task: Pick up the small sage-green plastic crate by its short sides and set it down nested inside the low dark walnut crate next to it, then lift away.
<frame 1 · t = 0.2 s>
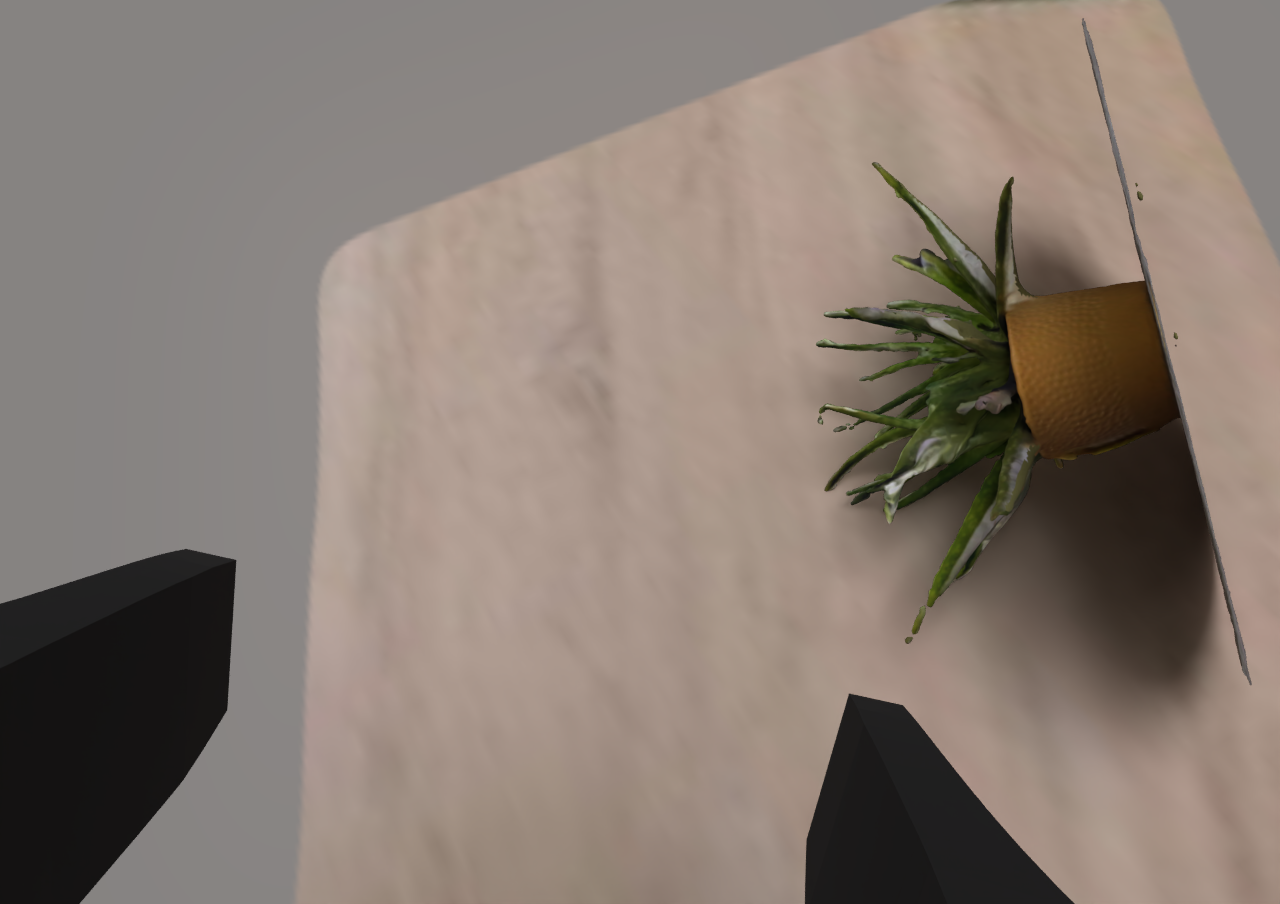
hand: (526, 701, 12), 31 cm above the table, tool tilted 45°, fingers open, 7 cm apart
disc: (996, 467, 50), on the table
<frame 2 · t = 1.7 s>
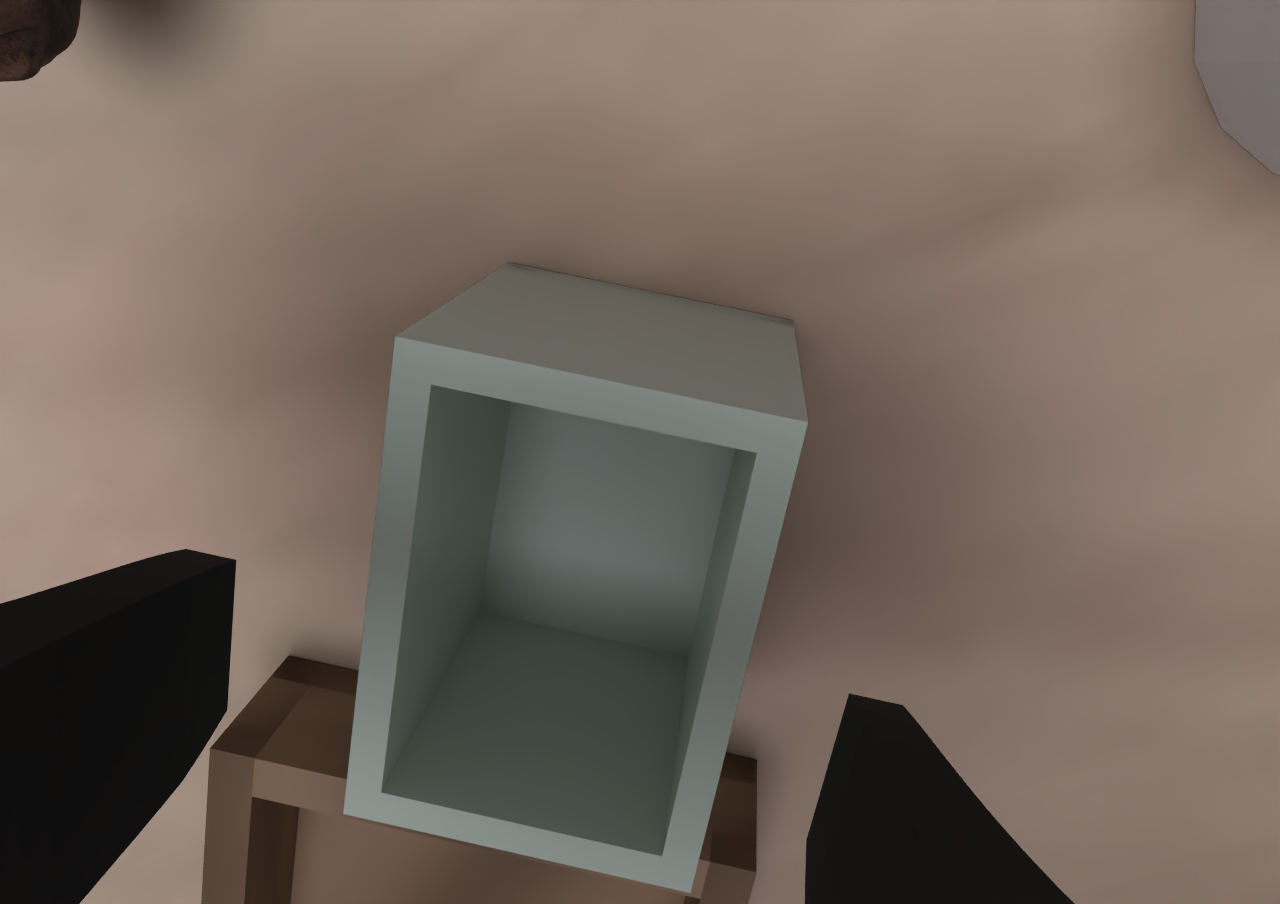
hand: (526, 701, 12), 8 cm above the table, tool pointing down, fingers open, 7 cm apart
green crate: (614, 478, 19), on the table
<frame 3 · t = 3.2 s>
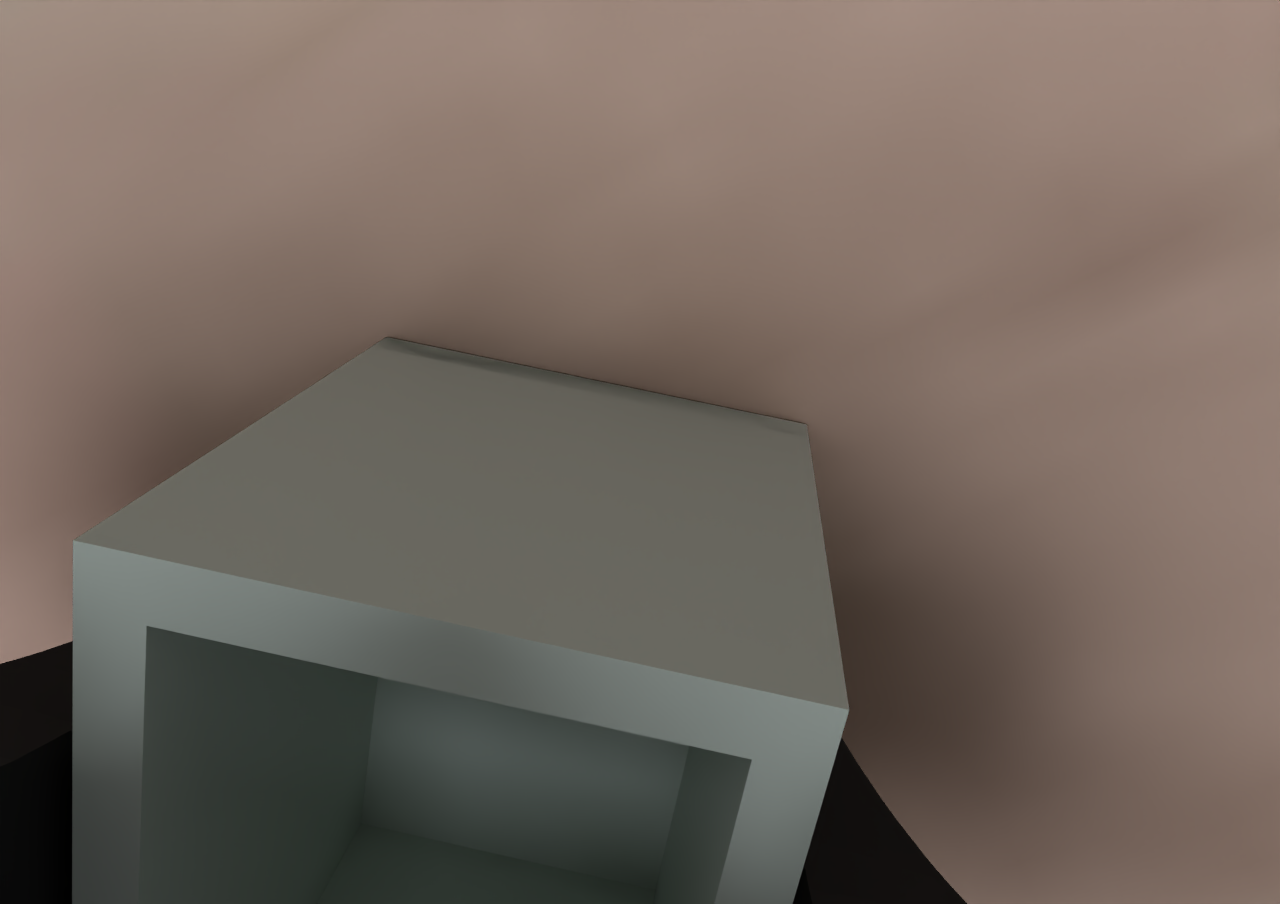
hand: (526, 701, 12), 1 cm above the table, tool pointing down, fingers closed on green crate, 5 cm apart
green crate: (548, 641, 13), on the table, touching gripper
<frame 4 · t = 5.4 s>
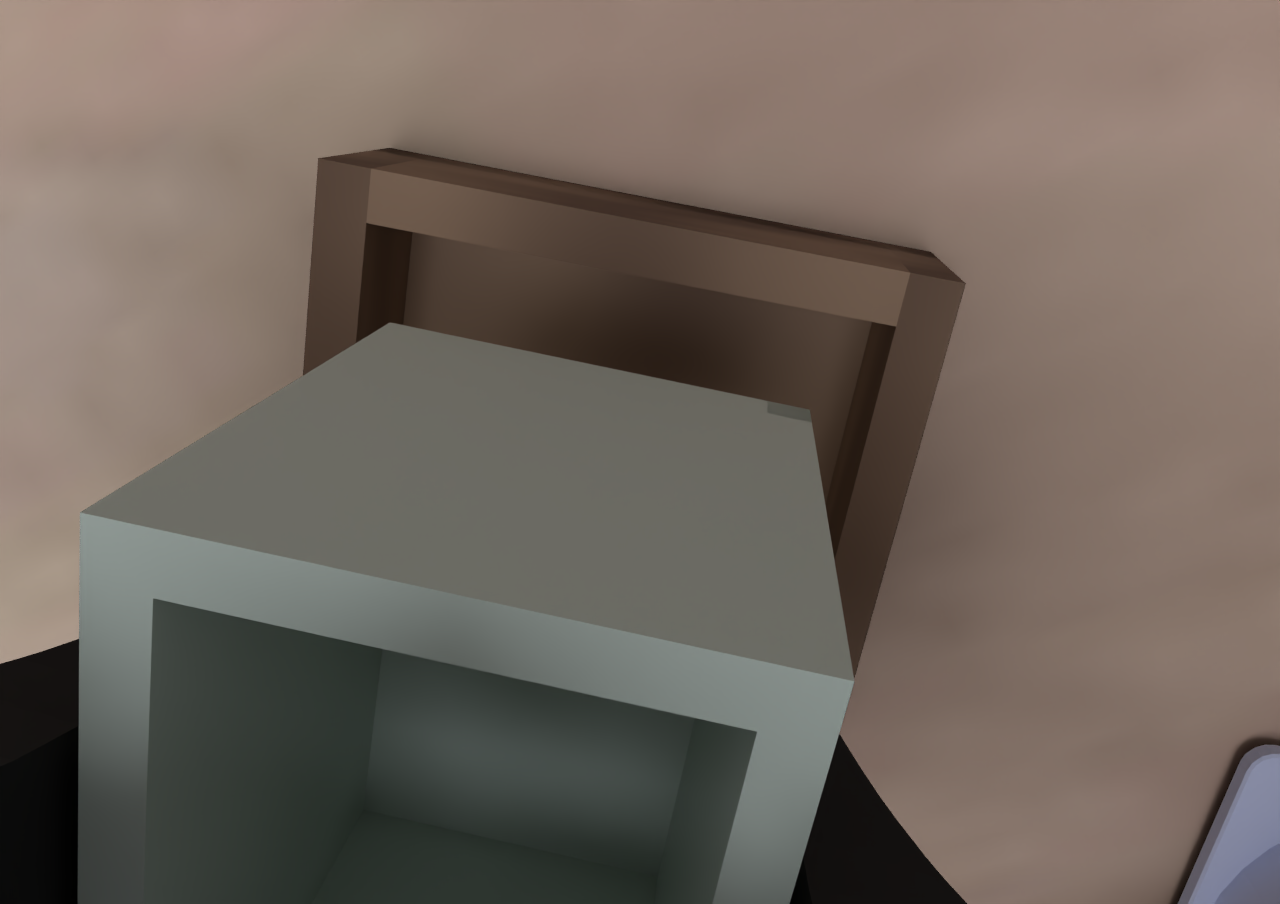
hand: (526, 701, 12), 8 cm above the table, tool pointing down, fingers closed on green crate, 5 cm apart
walnut crate: (603, 503, 20), on the table
green crate: (551, 627, 13), point 7 cm above the table, touching gripper
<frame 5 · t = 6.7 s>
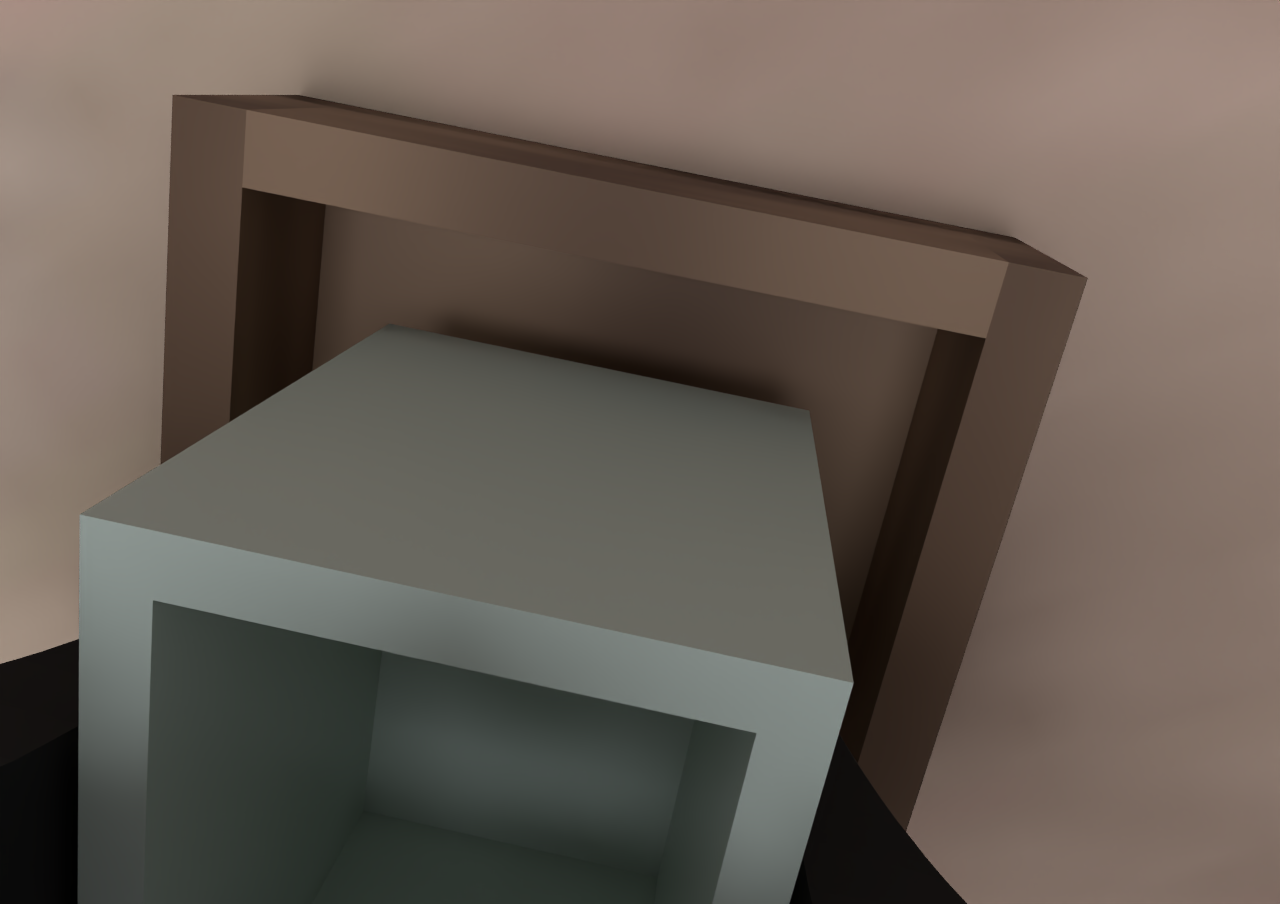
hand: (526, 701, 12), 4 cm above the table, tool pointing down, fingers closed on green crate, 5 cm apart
walnut crate: (579, 559, 16), on the table
green crate: (551, 628, 13), point 2 cm above the table, touching gripper
when the fingers open (4 cm above the table, at t = 7.8 s): green crate drops 2 cm, resting on walnut crate.
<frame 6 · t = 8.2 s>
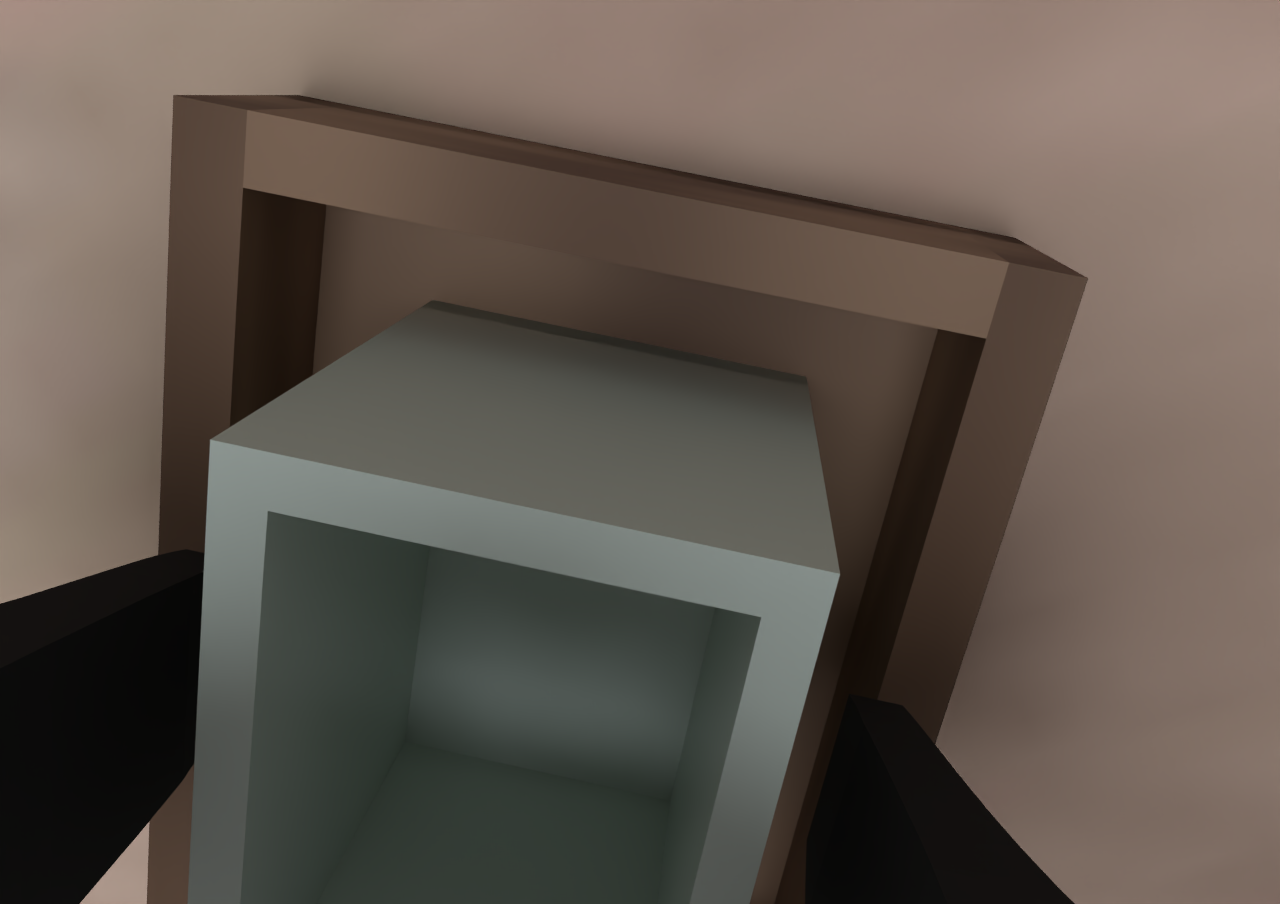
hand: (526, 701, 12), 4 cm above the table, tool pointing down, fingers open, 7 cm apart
walnut crate: (580, 559, 16), on the table
green crate: (575, 575, 15), point 1 cm above the table, touching walnut crate
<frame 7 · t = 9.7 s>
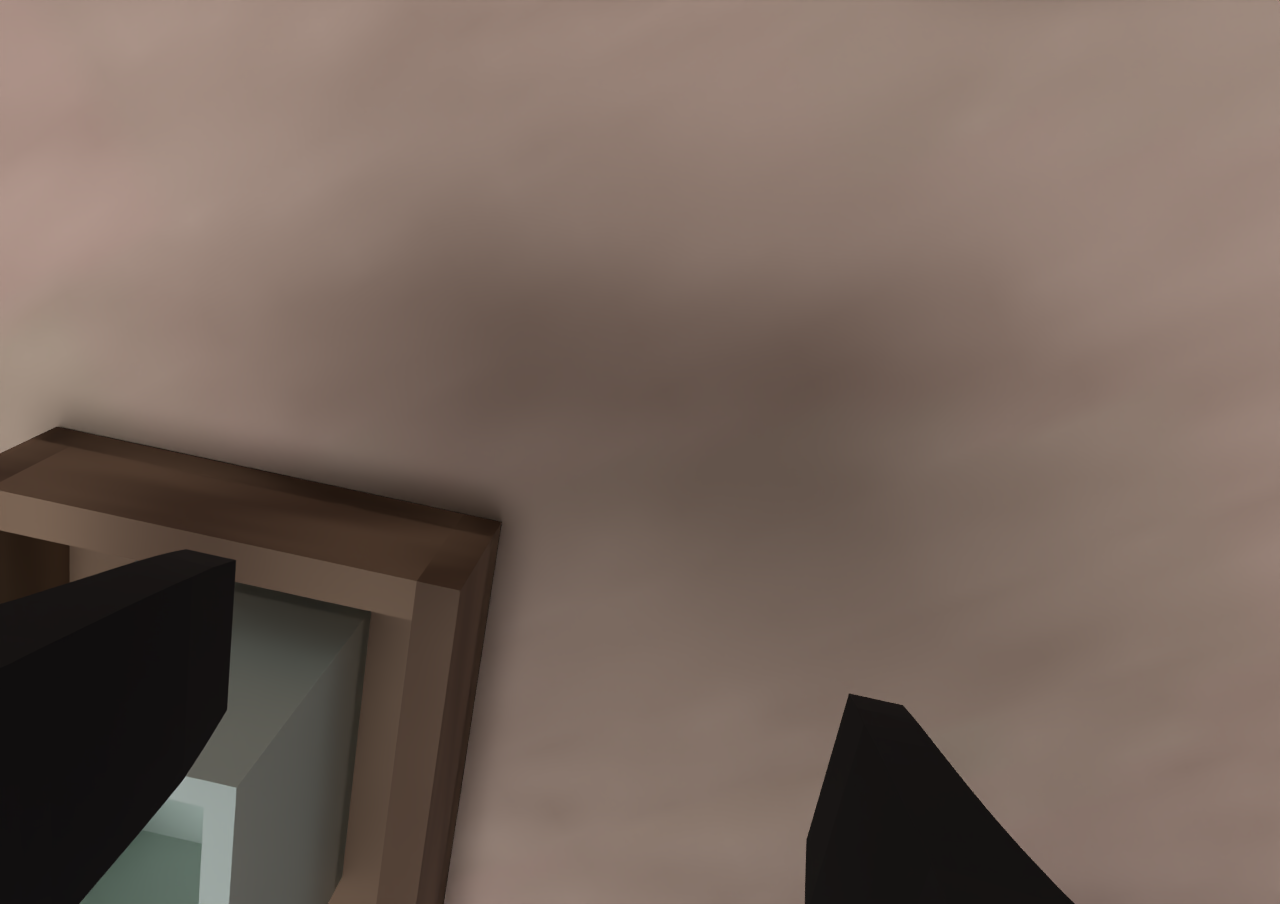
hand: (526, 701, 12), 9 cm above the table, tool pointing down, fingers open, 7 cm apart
walnut crate: (260, 709, 24), on the table
green crate: (245, 724, 23), point 1 cm above the table, touching walnut crate
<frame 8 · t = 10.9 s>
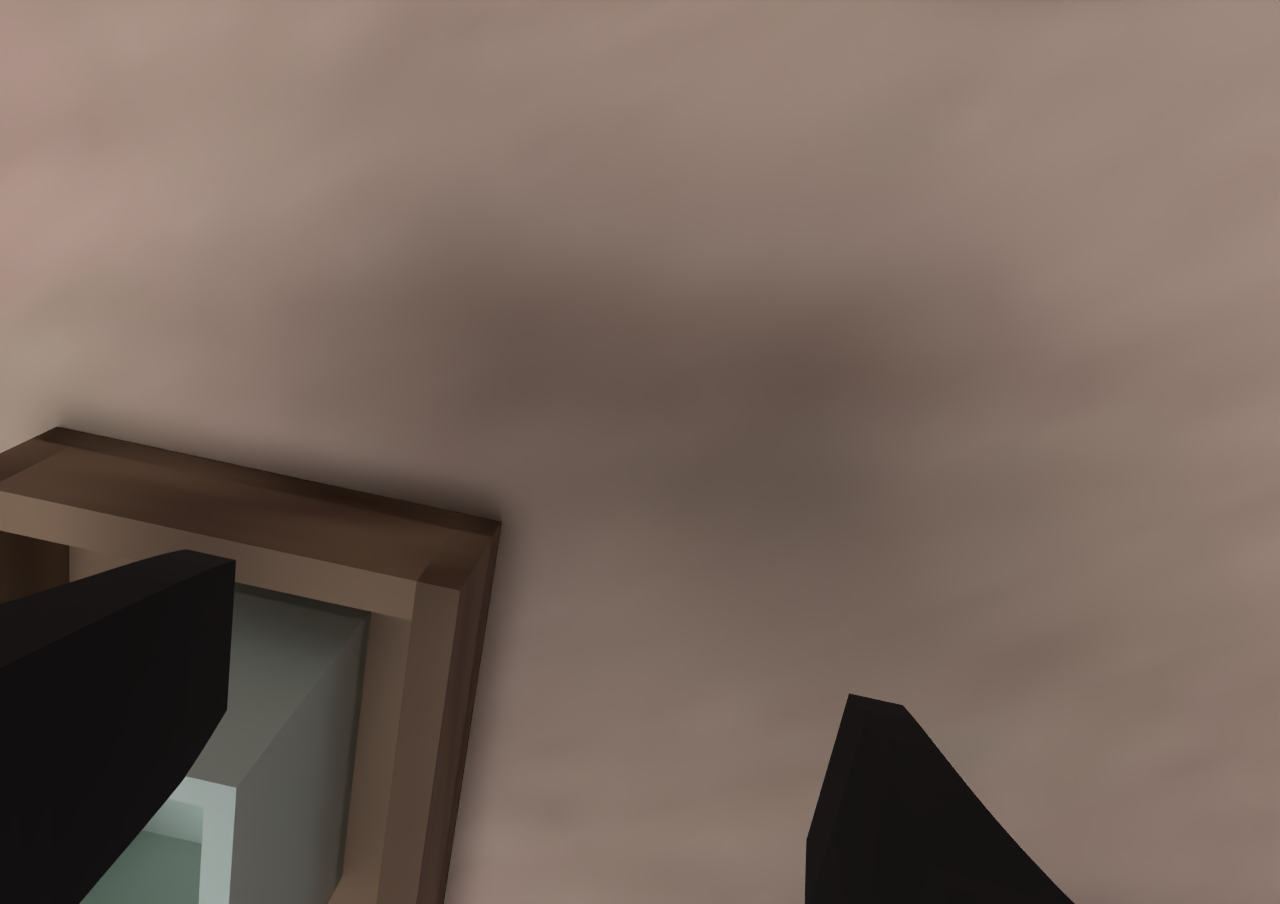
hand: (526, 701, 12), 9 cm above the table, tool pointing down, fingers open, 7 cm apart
walnut crate: (259, 709, 24), on the table
green crate: (245, 724, 23), point 1 cm above the table, touching walnut crate
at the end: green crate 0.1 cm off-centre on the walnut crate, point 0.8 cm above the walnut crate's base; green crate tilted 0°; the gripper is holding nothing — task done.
